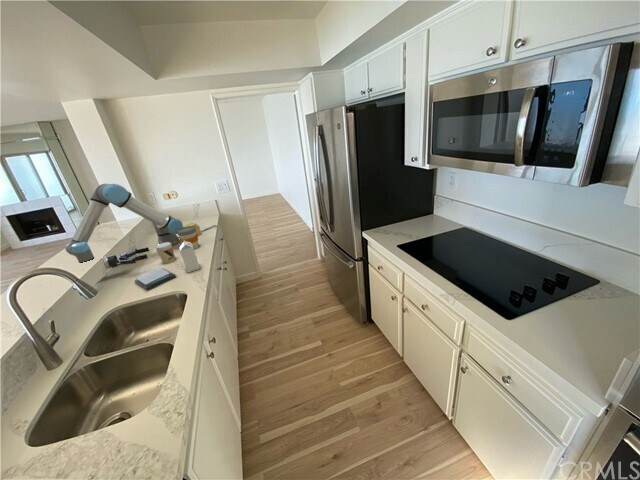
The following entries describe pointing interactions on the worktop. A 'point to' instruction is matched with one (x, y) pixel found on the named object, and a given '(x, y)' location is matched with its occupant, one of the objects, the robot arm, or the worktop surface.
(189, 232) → the reusable coffee cup
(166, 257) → the coffee cup
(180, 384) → the worktop surface
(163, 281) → the scale
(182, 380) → the worktop surface
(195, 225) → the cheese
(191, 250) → the milk carton
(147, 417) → the worktop surface
